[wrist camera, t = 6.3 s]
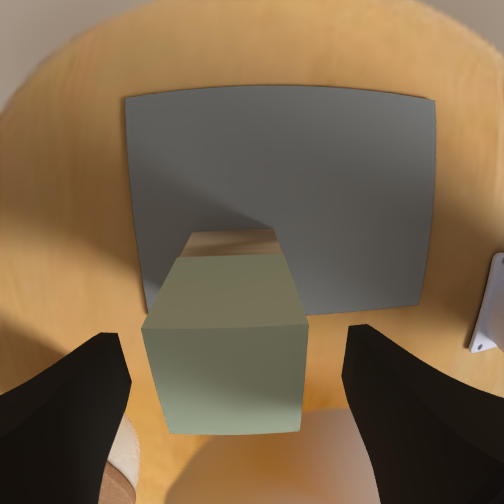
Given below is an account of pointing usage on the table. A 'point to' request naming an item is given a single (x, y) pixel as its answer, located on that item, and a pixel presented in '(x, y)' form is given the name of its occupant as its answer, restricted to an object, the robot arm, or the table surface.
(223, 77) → the table surface
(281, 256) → the green block
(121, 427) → the lidded jar
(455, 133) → the table surface
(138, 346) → the table surface
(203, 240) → the beech cube
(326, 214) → the slate mat
